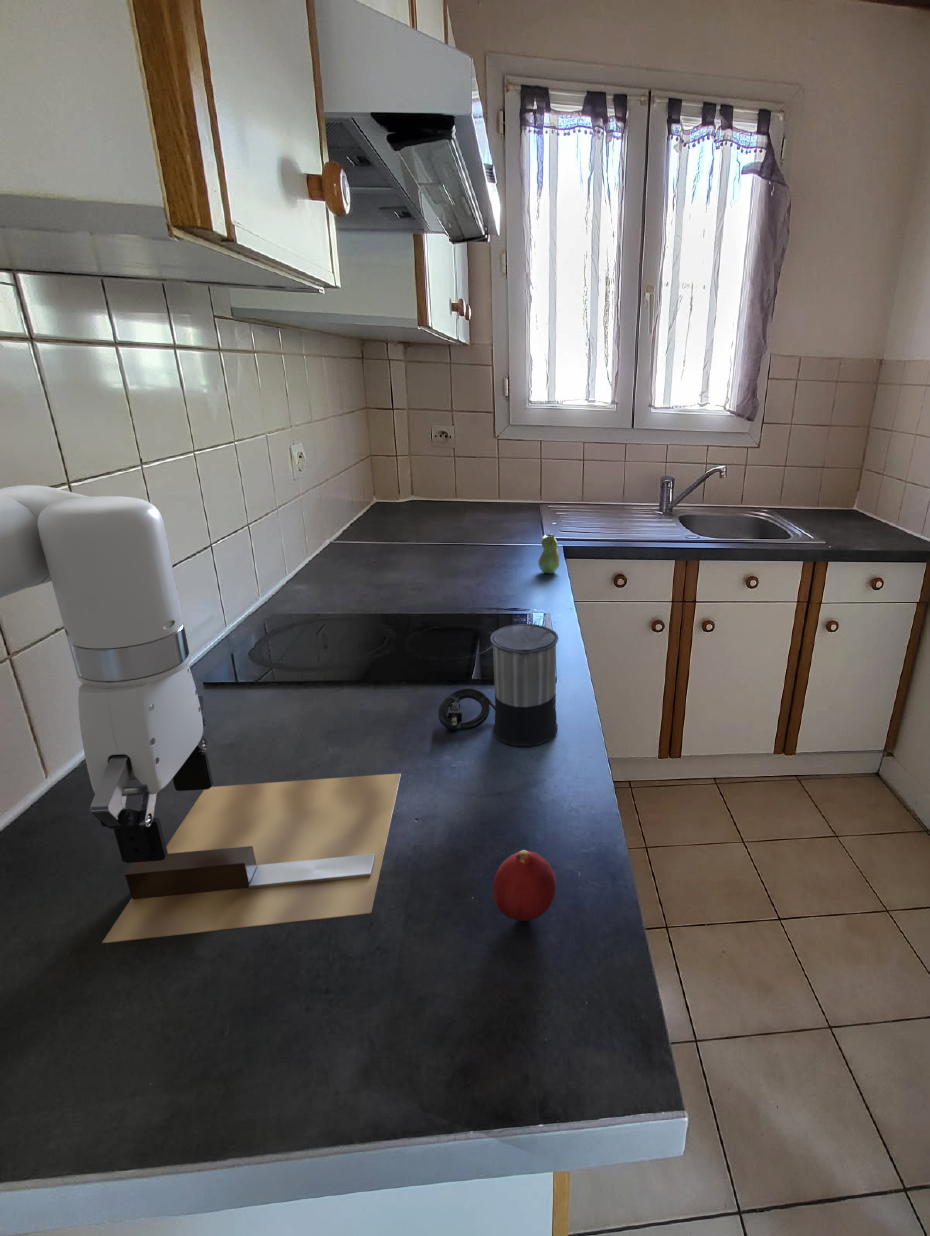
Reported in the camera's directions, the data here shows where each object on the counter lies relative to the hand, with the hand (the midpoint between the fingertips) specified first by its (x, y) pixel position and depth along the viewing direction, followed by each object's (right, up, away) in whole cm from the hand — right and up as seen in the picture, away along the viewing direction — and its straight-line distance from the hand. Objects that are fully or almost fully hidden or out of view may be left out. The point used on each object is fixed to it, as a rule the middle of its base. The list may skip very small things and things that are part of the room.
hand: (172, 821), depth 58 cm
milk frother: (+24, +3, +34) cm, 42 cm away
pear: (+23, +30, +104) cm, 110 cm away
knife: (+6, -7, +4) cm, 10 cm away
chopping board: (+5, -6, +9) cm, 12 cm away
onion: (+32, -10, +3) cm, 34 cm away
